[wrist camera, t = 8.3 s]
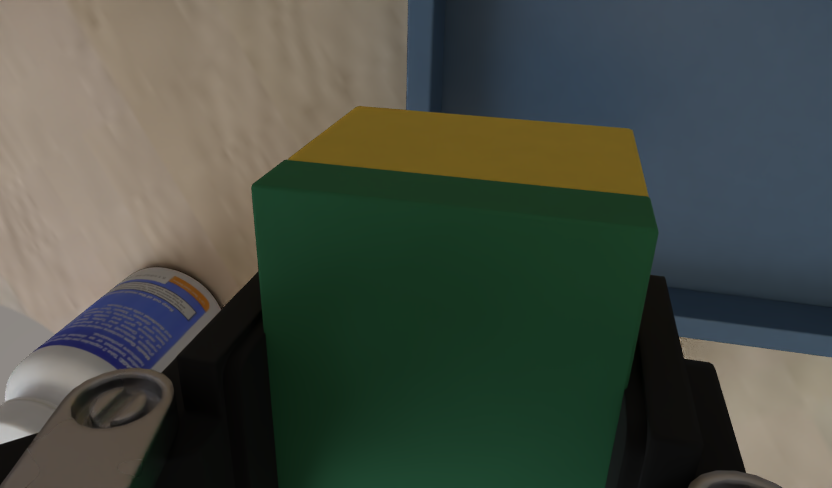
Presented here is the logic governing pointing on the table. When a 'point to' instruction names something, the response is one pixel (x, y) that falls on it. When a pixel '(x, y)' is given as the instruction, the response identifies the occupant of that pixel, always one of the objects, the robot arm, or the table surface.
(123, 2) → the table surface
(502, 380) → the sponge
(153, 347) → the pill bottle
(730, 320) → the tray
